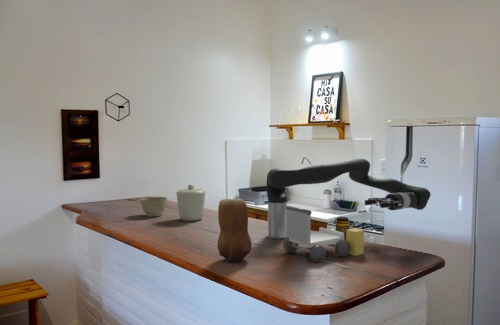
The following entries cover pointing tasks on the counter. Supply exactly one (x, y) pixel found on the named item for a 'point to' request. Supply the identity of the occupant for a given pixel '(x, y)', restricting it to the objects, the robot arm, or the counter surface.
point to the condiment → (342, 225)
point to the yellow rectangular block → (355, 241)
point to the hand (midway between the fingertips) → (373, 204)
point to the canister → (191, 203)
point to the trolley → (311, 236)
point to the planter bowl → (154, 205)
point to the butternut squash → (233, 229)
